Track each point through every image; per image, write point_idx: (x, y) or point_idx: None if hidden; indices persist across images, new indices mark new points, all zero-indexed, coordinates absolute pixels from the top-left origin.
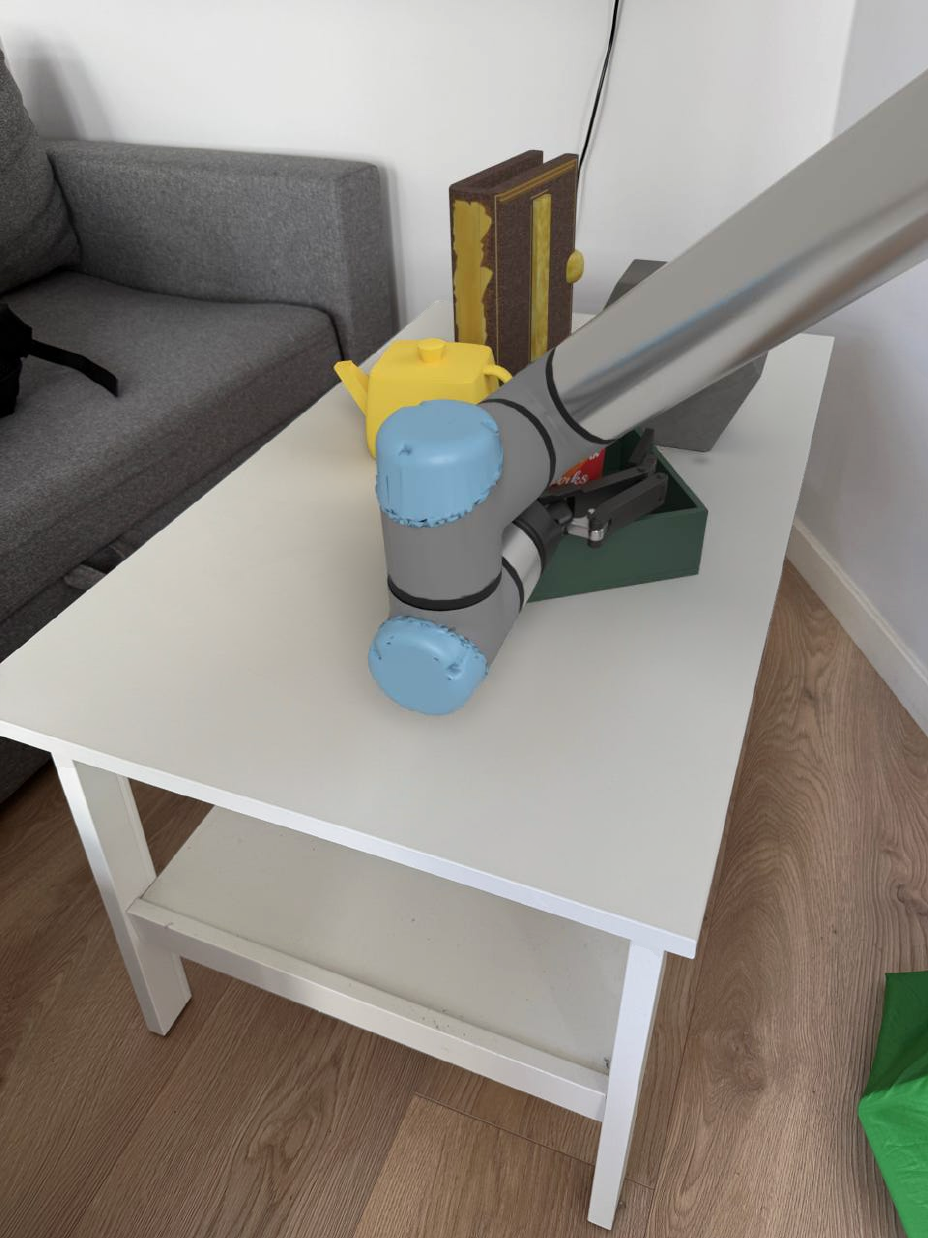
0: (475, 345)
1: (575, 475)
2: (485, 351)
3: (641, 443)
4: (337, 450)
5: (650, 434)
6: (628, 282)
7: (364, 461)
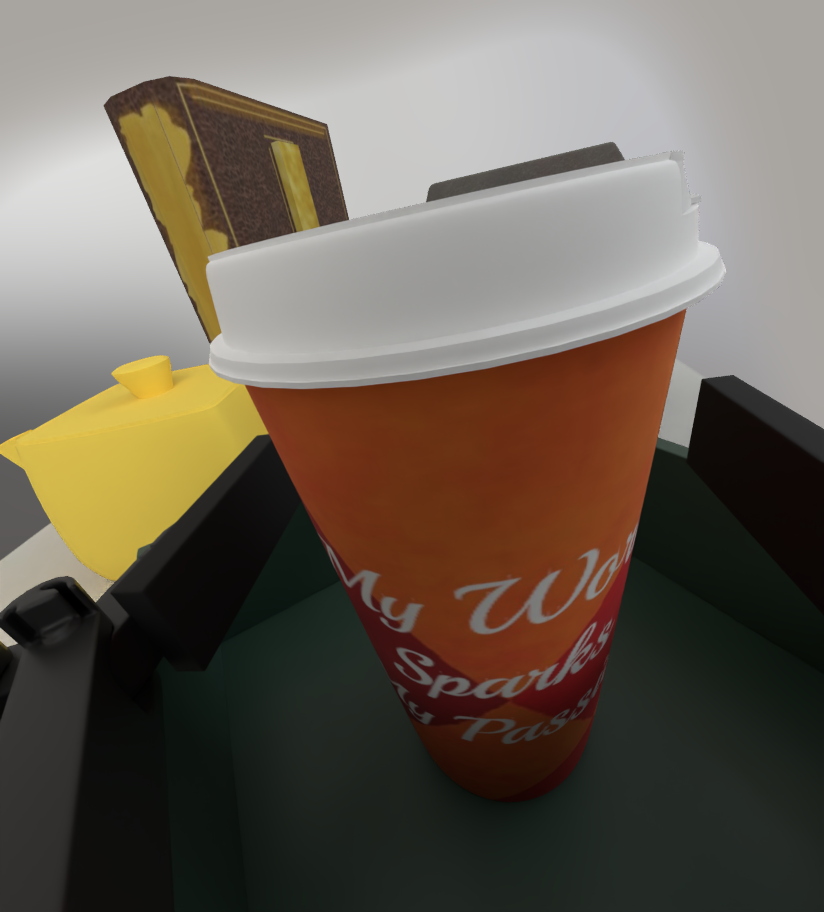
0: None
1: (578, 648)
2: None
3: (791, 429)
4: (54, 577)
5: (755, 391)
6: (449, 180)
7: (88, 590)
